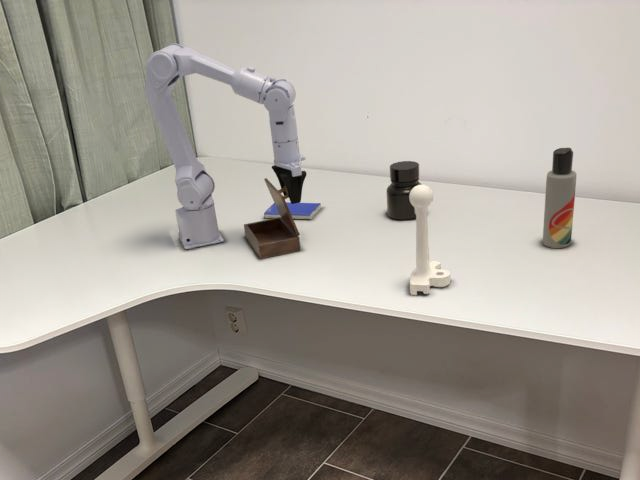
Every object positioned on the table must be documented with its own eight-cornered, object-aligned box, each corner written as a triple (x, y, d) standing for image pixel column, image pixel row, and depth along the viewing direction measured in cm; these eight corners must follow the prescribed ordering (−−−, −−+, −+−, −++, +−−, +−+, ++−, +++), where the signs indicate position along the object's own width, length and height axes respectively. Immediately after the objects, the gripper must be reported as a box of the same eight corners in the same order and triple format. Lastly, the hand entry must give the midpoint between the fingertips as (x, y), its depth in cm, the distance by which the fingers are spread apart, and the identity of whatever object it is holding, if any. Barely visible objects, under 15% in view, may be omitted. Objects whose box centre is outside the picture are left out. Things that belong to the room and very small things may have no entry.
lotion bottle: (572, 248, 161) (580, 152, 150) (543, 248, 162) (549, 153, 152) (569, 237, 165) (577, 144, 155) (541, 238, 167) (547, 145, 157)
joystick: (419, 270, 159) (416, 175, 149) (455, 272, 157) (455, 175, 147) (405, 294, 151) (401, 195, 141) (444, 297, 148) (443, 196, 138)
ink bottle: (427, 219, 183) (426, 169, 177) (389, 223, 184) (387, 173, 178) (421, 205, 192) (420, 157, 186) (385, 209, 192) (383, 161, 186)
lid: (280, 197, 168) (298, 188, 168) (263, 179, 181) (280, 170, 181) (297, 236, 173) (314, 227, 174) (280, 215, 186) (295, 207, 186)
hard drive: (263, 212, 195) (310, 214, 191) (275, 201, 202) (320, 202, 197) (264, 218, 196) (310, 220, 192) (276, 207, 202) (321, 208, 198)
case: (260, 259, 174) (258, 245, 172) (245, 237, 186) (243, 224, 185) (300, 250, 175) (299, 237, 174) (283, 229, 188) (281, 216, 186)
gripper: (312, 143, 165) (318, 204, 171) (293, 129, 177) (299, 186, 184) (280, 149, 163) (288, 211, 170) (263, 134, 176) (271, 192, 183)
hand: (292, 199), depth 177 cm, fingers closed on lid, 5 cm apart
